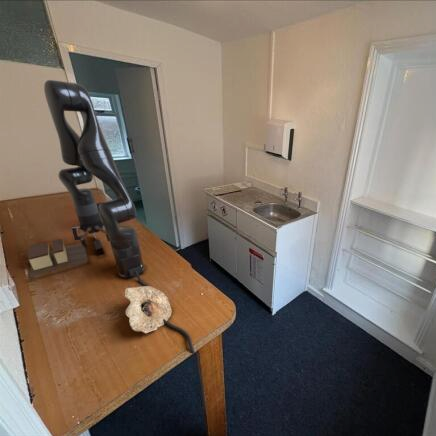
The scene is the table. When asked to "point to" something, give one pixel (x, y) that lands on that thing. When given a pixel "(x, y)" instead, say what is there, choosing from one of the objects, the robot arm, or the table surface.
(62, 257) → the cake slice
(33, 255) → the cake
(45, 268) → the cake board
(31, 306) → the table surface
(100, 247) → the knife
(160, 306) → the seashell
